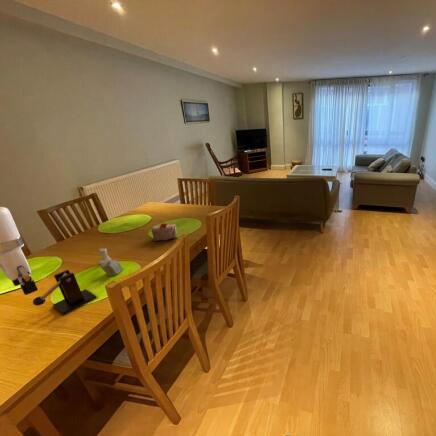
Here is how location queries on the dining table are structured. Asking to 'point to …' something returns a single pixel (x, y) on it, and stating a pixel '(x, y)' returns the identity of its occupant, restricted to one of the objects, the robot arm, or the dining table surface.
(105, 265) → the mineral specimen
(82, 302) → the stand
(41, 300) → the switch lever
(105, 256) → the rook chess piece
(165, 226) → the food item
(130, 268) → the dining table surface
